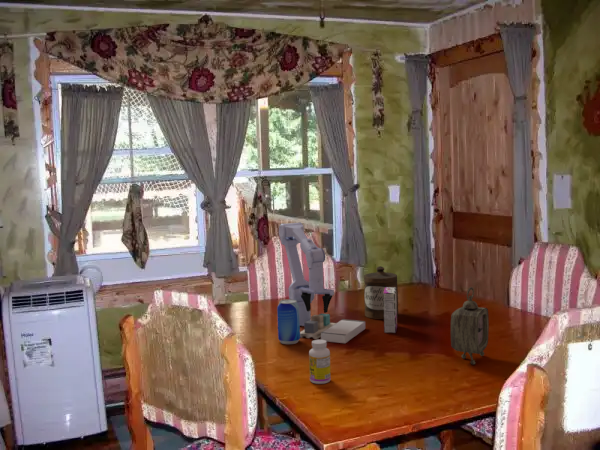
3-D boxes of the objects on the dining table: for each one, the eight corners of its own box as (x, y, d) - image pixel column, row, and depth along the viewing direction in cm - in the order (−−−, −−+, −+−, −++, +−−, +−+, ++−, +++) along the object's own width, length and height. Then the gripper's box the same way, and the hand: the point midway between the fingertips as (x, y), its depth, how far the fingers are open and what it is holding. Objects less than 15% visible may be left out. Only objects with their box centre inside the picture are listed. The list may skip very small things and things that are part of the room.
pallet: (298, 338, 248) (297, 320, 247) (318, 326, 265) (317, 310, 264) (316, 340, 244) (316, 322, 244) (335, 327, 261) (335, 311, 260)
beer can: (303, 339, 244) (301, 299, 243) (295, 345, 236) (294, 304, 235) (282, 338, 247) (281, 298, 245) (275, 344, 239) (273, 303, 238)
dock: (321, 340, 242) (320, 332, 241) (342, 326, 261) (342, 319, 261) (345, 343, 237) (344, 335, 237) (365, 328, 257) (365, 321, 257)
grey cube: (304, 332, 248) (304, 322, 248) (308, 330, 252) (308, 320, 251) (313, 333, 246) (313, 323, 246) (317, 330, 250) (317, 321, 249)
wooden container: (360, 318, 274) (359, 268, 272) (369, 310, 288) (369, 263, 286) (393, 320, 269) (393, 270, 266) (401, 312, 282) (401, 264, 280)
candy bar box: (385, 325, 261) (384, 287, 259) (397, 326, 260) (396, 287, 258) (383, 333, 250) (382, 292, 248) (396, 333, 249) (395, 292, 247)
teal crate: (317, 325, 259) (317, 315, 258) (321, 322, 262) (320, 313, 262) (326, 326, 257) (325, 316, 257) (329, 323, 261) (329, 314, 260)
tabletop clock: (476, 367, 206) (476, 292, 203) (449, 363, 211) (449, 290, 208) (488, 355, 218) (488, 284, 215) (463, 351, 223) (462, 282, 220)
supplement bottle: (308, 378, 201) (307, 339, 199) (329, 376, 201) (328, 337, 200) (310, 385, 194) (309, 345, 193) (332, 384, 195) (331, 343, 193)
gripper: (295, 279, 252) (296, 312, 253) (328, 281, 245) (329, 315, 247) (303, 276, 258) (304, 308, 259) (335, 278, 252) (336, 311, 253)
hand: (317, 311), depth 254 cm, fingers open, 7 cm apart
